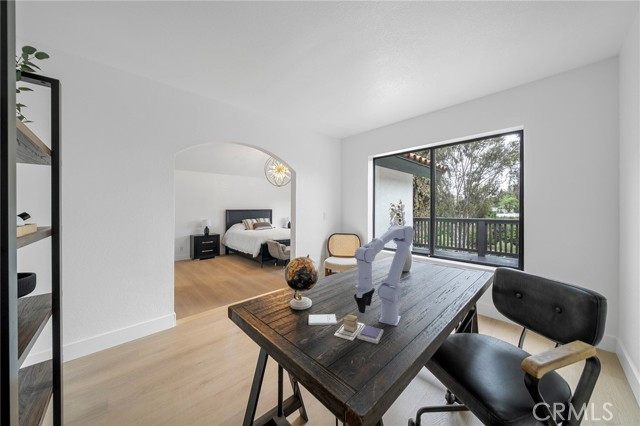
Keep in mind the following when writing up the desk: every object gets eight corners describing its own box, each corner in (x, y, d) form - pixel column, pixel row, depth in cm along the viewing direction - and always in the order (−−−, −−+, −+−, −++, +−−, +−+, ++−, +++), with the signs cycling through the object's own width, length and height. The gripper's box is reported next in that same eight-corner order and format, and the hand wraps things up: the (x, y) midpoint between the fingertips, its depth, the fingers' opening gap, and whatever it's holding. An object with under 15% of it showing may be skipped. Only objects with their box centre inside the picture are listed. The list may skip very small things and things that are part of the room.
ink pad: (364, 327, 101) (364, 323, 101) (383, 332, 97) (383, 328, 97) (357, 338, 93) (357, 333, 93) (377, 343, 89) (377, 339, 89)
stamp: (347, 325, 102) (347, 314, 102) (357, 328, 100) (357, 316, 100) (343, 330, 98) (343, 318, 98) (353, 333, 96) (353, 321, 96)
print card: (347, 320, 107) (347, 319, 107) (364, 324, 104) (364, 323, 104) (333, 335, 95) (333, 334, 95) (352, 340, 91) (352, 339, 91)
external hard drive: (308, 317, 112) (335, 317, 112) (308, 326, 104) (336, 325, 104) (308, 314, 112) (335, 313, 112) (308, 323, 103) (336, 322, 104)
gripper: (361, 270, 106) (361, 300, 106) (349, 280, 93) (349, 313, 93) (376, 272, 102) (376, 303, 103) (366, 282, 90) (366, 317, 90)
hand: (364, 308), depth 98 cm, fingers open, 7 cm apart
